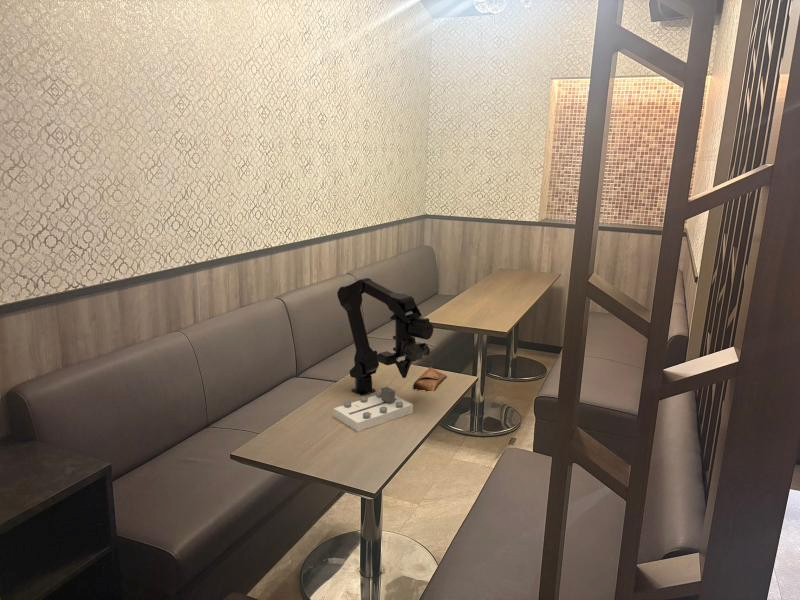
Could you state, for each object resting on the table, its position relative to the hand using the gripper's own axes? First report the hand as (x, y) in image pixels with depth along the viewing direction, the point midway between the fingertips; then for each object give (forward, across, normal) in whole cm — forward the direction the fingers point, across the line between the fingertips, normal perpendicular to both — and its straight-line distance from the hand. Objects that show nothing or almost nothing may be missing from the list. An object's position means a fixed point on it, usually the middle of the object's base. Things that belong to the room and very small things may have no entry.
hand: (404, 377), depth 199 cm
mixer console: (+10, -13, 0) cm, 16 cm away
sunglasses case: (+11, +21, +10) cm, 25 cm away
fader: (+7, -7, 0) cm, 10 cm away
